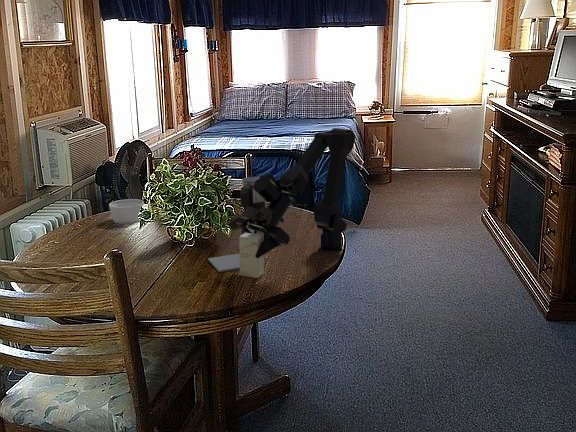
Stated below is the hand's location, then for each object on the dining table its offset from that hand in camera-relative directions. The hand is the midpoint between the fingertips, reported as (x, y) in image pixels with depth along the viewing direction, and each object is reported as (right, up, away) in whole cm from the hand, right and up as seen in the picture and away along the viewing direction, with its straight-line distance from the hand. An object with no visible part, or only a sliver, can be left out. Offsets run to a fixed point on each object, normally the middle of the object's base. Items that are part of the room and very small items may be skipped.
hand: (247, 254), depth 182 cm
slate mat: (-5, -3, +13) cm, 14 cm away
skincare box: (+1, -6, +3) cm, 7 cm away
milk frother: (+2, +11, +62) cm, 62 cm away
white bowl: (-51, +9, +61) cm, 80 cm away
